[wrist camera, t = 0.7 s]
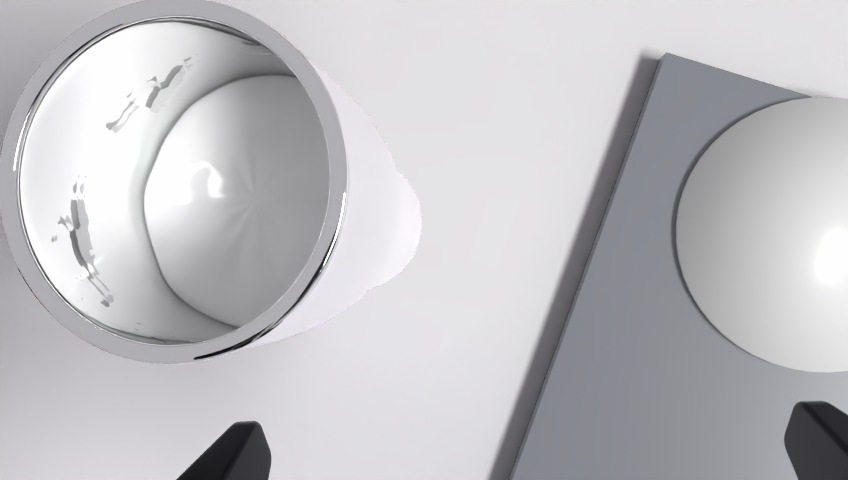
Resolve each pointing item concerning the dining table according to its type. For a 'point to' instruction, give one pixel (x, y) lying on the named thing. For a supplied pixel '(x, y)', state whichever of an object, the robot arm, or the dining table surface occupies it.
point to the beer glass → (197, 186)
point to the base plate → (704, 290)
